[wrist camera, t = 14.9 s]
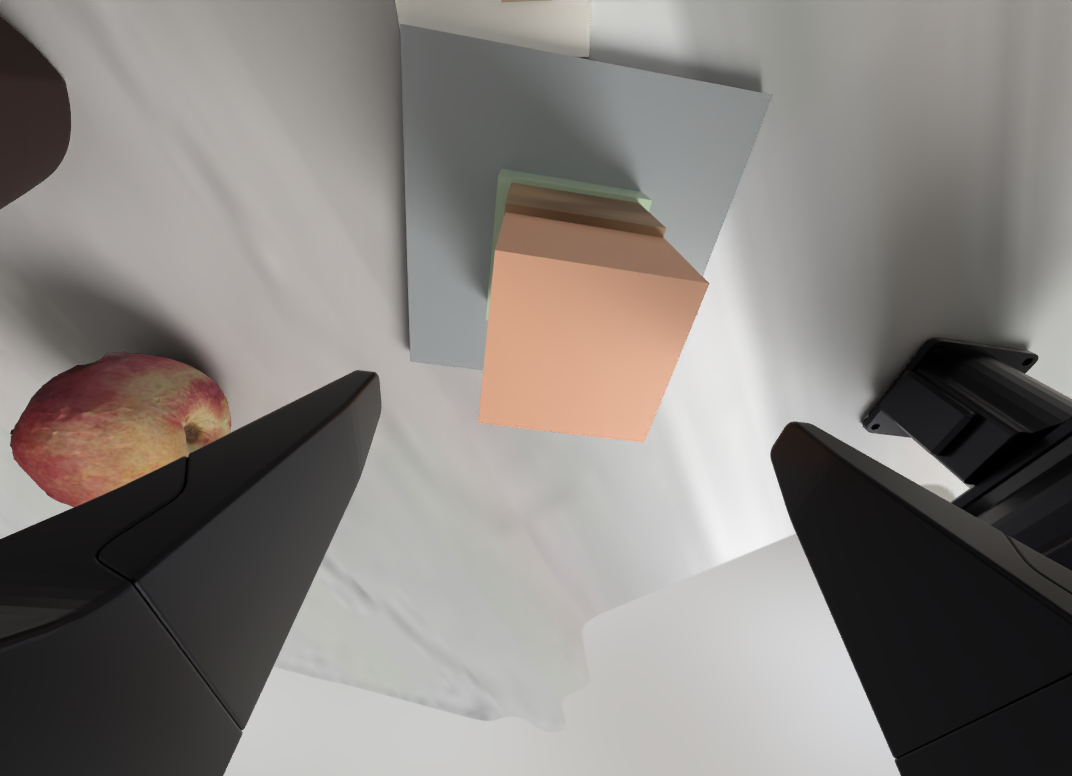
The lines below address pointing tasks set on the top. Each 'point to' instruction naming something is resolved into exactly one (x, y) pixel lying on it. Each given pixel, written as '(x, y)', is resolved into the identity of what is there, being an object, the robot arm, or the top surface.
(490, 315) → the brick terracotta
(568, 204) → the brown block
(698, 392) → the top surface
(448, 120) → the plate
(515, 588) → the top surface
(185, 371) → the fruit
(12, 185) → the cup
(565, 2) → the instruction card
